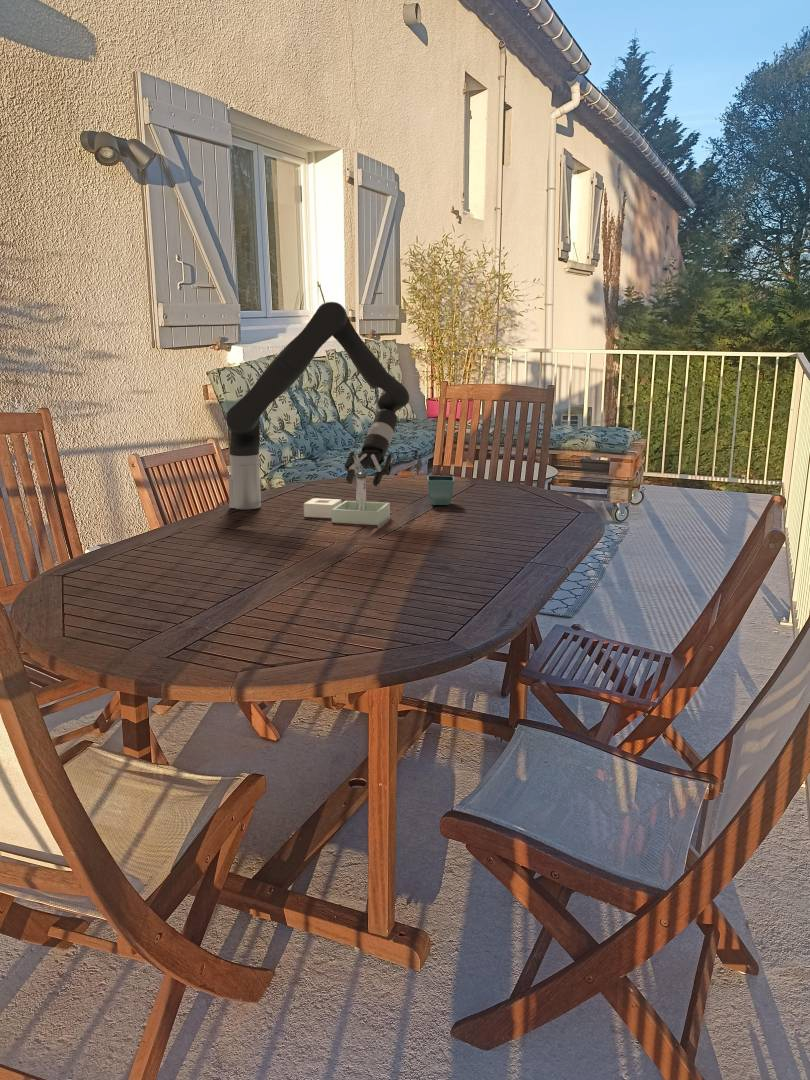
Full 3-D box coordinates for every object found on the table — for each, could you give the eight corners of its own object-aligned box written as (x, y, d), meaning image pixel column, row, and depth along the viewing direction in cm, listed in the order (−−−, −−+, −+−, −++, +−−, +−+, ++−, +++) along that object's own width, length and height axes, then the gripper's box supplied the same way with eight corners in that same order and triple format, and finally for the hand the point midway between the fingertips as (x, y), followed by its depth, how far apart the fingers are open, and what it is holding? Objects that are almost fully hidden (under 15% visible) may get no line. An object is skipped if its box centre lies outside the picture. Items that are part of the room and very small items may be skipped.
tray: (331, 525, 246) (331, 509, 245) (345, 515, 259) (345, 500, 258) (378, 528, 243) (377, 511, 242) (389, 518, 256) (389, 502, 255)
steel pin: (354, 520, 250) (353, 473, 246) (357, 517, 253) (357, 471, 250) (365, 520, 249) (365, 474, 246) (368, 518, 252) (368, 472, 249)
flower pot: (454, 507, 273) (454, 480, 271) (427, 507, 273) (427, 480, 271) (453, 502, 282) (453, 475, 280) (427, 502, 282) (427, 475, 280)
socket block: (304, 519, 254) (303, 503, 252) (314, 513, 262) (313, 498, 261) (332, 521, 252) (332, 504, 250) (341, 515, 260) (341, 499, 259)
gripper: (353, 431, 256) (336, 474, 249) (395, 433, 251) (379, 477, 243) (361, 446, 262) (344, 489, 255) (402, 449, 257) (387, 492, 249)
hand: (361, 483), depth 249 cm, fingers open, 8 cm apart
